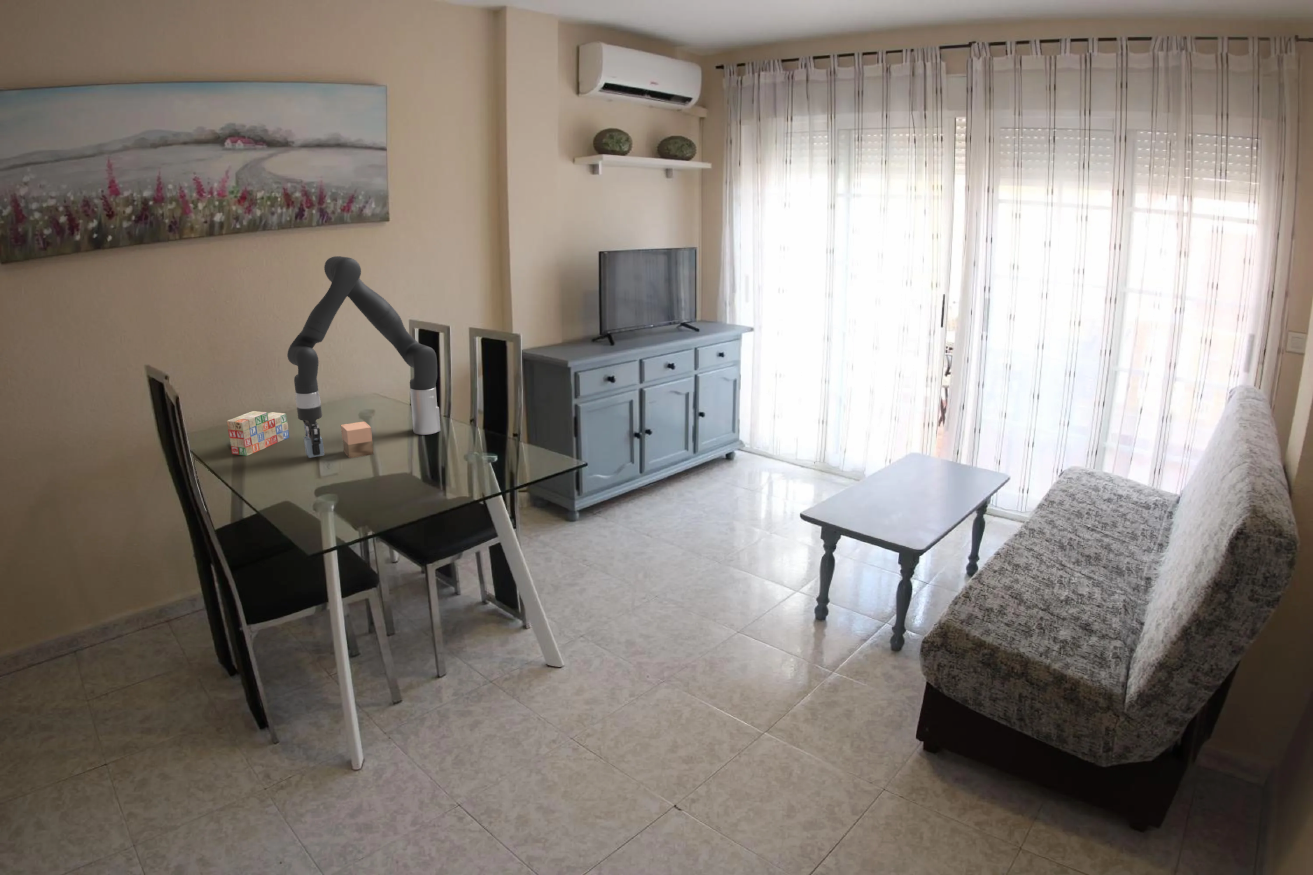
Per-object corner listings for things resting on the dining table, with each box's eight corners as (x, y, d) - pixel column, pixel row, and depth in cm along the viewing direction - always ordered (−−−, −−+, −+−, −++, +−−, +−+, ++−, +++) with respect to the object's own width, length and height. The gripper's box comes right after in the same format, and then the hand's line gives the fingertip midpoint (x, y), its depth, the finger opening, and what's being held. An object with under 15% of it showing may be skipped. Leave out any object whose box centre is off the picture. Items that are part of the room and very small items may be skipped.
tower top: (365, 434, 284) (364, 421, 283) (372, 441, 278) (371, 427, 276) (342, 438, 280) (340, 424, 278) (348, 444, 274) (347, 430, 272)
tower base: (367, 448, 286) (365, 434, 284) (373, 454, 279) (372, 441, 278) (343, 452, 281) (342, 438, 280) (349, 458, 275) (348, 444, 274)
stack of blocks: (275, 436, 296) (271, 403, 292) (289, 437, 295) (285, 405, 291) (231, 454, 277) (226, 420, 273) (246, 456, 275) (241, 422, 271)
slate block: (321, 450, 278) (319, 434, 276) (324, 455, 274) (322, 438, 272) (305, 453, 275) (303, 436, 273) (308, 457, 271) (306, 440, 269)
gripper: (325, 408, 265) (331, 456, 270) (315, 397, 276) (321, 444, 282) (301, 411, 261) (307, 460, 266) (292, 400, 272) (298, 448, 278)
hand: (314, 452), depth 274 cm, fingers closed on slate block, 5 cm apart
